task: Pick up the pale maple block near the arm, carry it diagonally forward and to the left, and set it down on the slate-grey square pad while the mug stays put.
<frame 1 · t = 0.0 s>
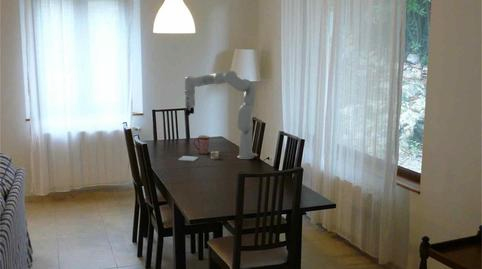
hand: (189, 114, 404), 31 cm above the table, tool pointing down, fingers open, 9 cm apart
mug: (201, 153, 413), on the table
maple block: (214, 158, 396), on the table
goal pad: (188, 159, 391), on the table
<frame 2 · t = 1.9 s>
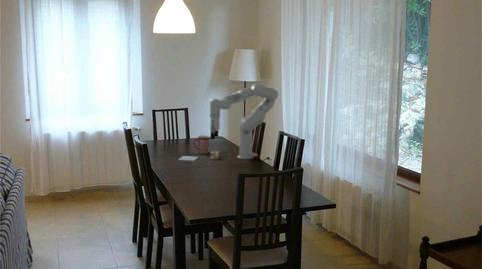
hand: (214, 137, 393), 16 cm above the table, tool pointing down, fingers open, 9 cm apart
nothing on the table moved.
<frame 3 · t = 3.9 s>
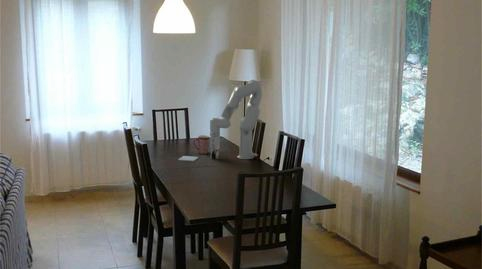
hand: (214, 157, 396), 0 cm above the table, tool pointing down, fingers closed on maple block, 5 cm apart
maple block: (214, 158, 396), on the table, touching gripper
everything else where it was.
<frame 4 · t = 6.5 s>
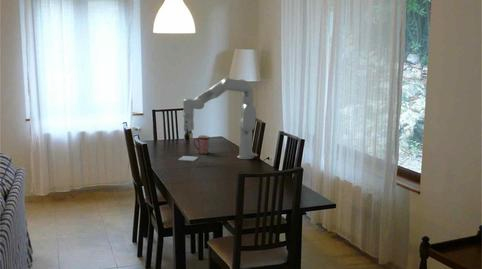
hand: (188, 139, 388), 15 cm above the table, tool pointing down, fingers closed on maple block, 5 cm apart
maple block: (188, 139, 388), point 15 cm above the table, touching gripper
everything else where it was.
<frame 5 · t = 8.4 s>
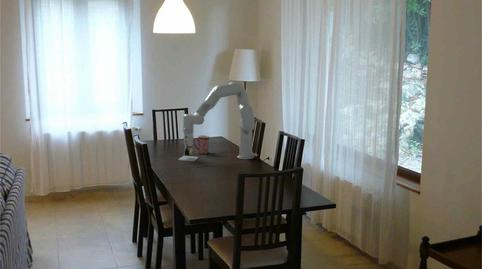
hand: (188, 154, 390), 4 cm above the table, tool pointing down, fingers closed on maple block, 5 cm apart
maple block: (188, 154, 390), point 3 cm above the table, touching gripper
everything else where it was.
when the fingers open (2 cm above the table, at t = 9.6 s): maple block stays where it is, resting on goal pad.
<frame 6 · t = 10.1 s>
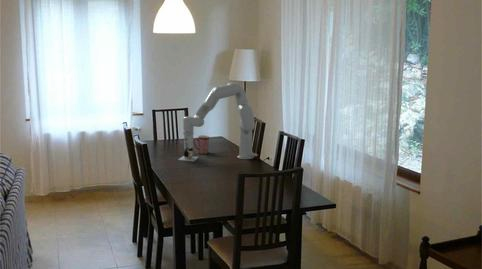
hand: (188, 155, 391), 3 cm above the table, tool pointing down, fingers open, 9 cm apart
maple block: (188, 158, 391), point 1 cm above the table, touching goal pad
everything else where it was.
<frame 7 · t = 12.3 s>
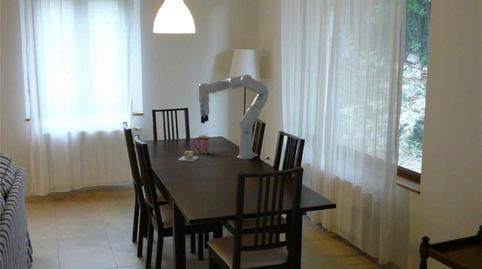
hand: (204, 122, 397), 27 cm above the table, tool pointing down, fingers open, 9 cm apart
nothing on the table moved.
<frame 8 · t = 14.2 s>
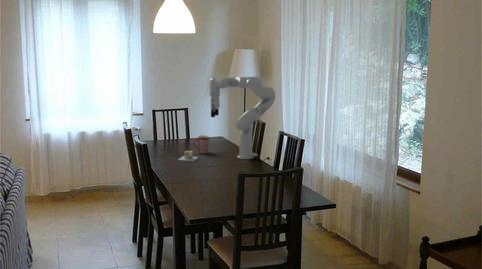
hand: (214, 116, 403), 30 cm above the table, tool pointing down, fingers open, 9 cm apart
nothing on the table moved.
at the end: maple block inside the target area on the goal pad (0.0 cm from its centre), point 0.8 cm above the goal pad's base; maple block tilted 0°; the gripper is holding nothing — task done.
